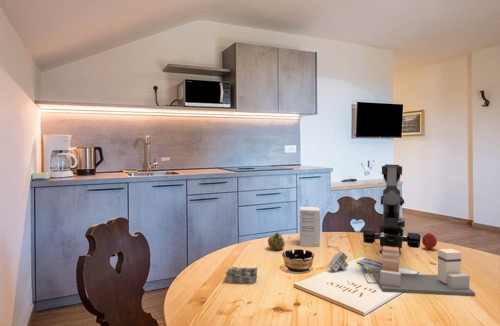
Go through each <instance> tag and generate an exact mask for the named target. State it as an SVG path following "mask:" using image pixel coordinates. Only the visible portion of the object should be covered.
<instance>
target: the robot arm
mask: <svg viewBox="0 0 500 326" xmlns="http://www.w3.org/2000/svg"><path fill="white" fill-rule="evenodd" d="M381 175H383V176H382V177H383V181H384V182H385V184H386V186H385V188H384V189H383V190H382V195H381V196H380V205H382V210H383V211H382V221H381V224H380V232H379V233H376V229H372V228H371V229H370V228H365V229H363V230H362V232H363V233H362V239H363V243H365V244H375V242H376V240H377V241H378V240H379V246H380V247H381V250H380V251H379V253H382V250H383V246H388V247H398V248H399V254H401V253H402V251H401V249H403V243H406V245H407V246H408V247H409V248H411V249H412V248H413V249H419V248H420V247H421V246H420V245H421V241H422V239H421V235H420V233H418V232H407V235H404V229H403V228H406V227H405V225H406V224H405V222H406V219H405V217H402V216H401V217H400V214H401V213H400V210H401V206H403V205H404V204H405V199H404V198H403V196H401V191H400V190H399V188H398V184H399V182H400V180H401V176H403V166H402V165H400V164H384V165H381Z"/></svg>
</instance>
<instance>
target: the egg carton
mask: <svg viewBox="0 0 500 326" xmlns="http://www.w3.org/2000/svg"><path fill="white" fill-rule="evenodd" d="M225 277H226V278H225V279H226V282H227V283H229V284H233V283H239V284H244V283H247V284H249V285H252V284H255V283H257V279H258V267H257V266H255V267H252V268H251V267H249V268H248V267H236V266H232V267H230V268H228V269H227V271H226V272H225Z"/></svg>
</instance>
